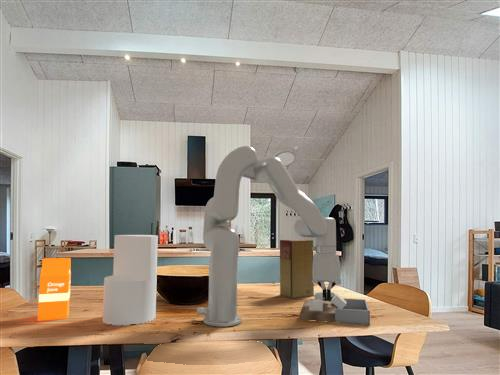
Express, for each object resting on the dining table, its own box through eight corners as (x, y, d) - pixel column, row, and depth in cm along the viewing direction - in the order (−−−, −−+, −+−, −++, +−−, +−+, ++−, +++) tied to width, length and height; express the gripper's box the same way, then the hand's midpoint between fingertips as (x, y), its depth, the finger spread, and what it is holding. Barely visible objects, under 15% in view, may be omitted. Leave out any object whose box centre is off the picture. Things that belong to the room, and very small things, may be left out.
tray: (335, 322, 124) (335, 308, 124) (335, 310, 141) (335, 298, 142) (369, 325, 121) (369, 310, 122) (366, 311, 139) (365, 299, 139)
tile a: (331, 301, 136) (336, 295, 136) (331, 299, 140) (336, 293, 140) (340, 310, 135) (346, 304, 134) (341, 307, 139) (346, 301, 139)
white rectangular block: (309, 310, 128) (309, 301, 128) (310, 307, 132) (310, 298, 132) (322, 311, 127) (322, 302, 127) (323, 308, 131) (322, 299, 131)
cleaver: (346, 308, 145) (345, 303, 145) (320, 308, 145) (320, 302, 145) (333, 294, 174) (333, 290, 174) (312, 294, 174) (312, 289, 175)
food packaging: (301, 292, 176) (301, 239, 178) (315, 295, 168) (314, 240, 170) (278, 295, 169) (278, 239, 171) (291, 298, 161) (291, 240, 163)
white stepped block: (129, 310, 139) (132, 234, 141) (166, 315, 131) (168, 235, 133) (90, 320, 123) (94, 236, 126) (129, 328, 115) (132, 237, 118)
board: (300, 320, 126) (300, 311, 127) (305, 308, 144) (305, 300, 144) (335, 322, 124) (335, 313, 124) (335, 310, 141) (335, 302, 141)
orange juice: (41, 315, 130) (44, 257, 132) (69, 313, 133) (72, 256, 135) (37, 320, 123) (40, 259, 125) (66, 318, 126) (69, 258, 128)
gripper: (305, 250, 138) (305, 301, 137) (346, 251, 135) (347, 303, 133) (306, 249, 145) (307, 296, 144) (346, 249, 142) (347, 298, 141)
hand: (326, 299), depth 139 cm, fingers closed
